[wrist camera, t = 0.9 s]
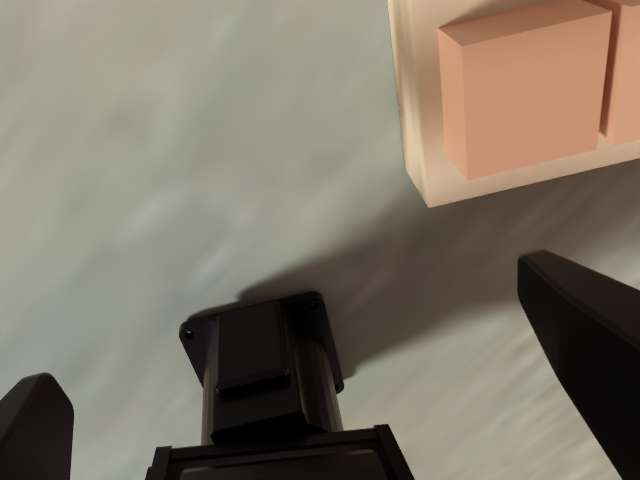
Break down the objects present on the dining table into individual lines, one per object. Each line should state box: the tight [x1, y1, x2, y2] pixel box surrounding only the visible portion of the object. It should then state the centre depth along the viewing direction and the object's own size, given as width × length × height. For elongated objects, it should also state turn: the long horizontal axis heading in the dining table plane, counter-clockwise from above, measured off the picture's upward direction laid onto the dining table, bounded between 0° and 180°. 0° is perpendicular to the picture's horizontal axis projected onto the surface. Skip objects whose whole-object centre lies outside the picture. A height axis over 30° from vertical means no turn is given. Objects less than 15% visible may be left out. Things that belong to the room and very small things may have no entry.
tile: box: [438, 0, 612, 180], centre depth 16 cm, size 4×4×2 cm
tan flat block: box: [387, 0, 640, 208], centre depth 18 cm, size 8×9×3 cm
